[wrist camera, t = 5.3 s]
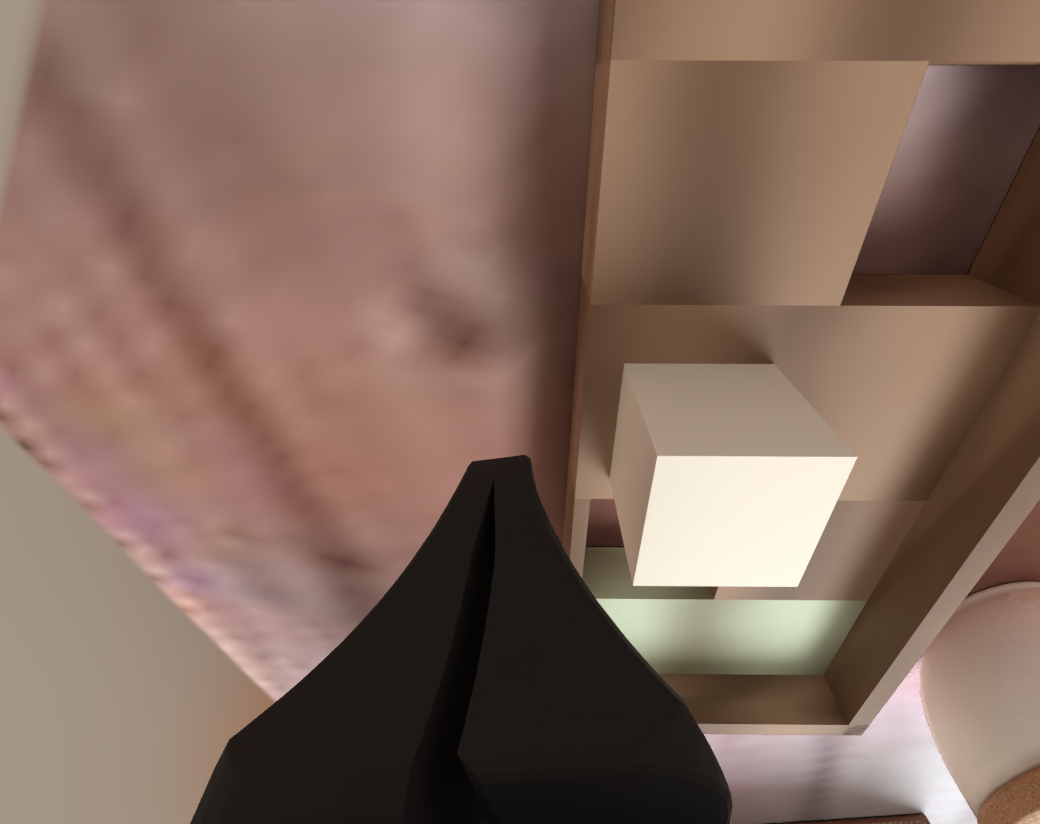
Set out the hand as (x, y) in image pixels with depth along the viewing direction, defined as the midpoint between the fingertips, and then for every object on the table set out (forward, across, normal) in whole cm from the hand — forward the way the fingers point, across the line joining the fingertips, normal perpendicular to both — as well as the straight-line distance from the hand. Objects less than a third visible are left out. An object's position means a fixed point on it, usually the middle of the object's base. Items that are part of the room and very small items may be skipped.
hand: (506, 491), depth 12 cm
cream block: (+3, -5, +1) cm, 6 cm away
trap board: (+6, -8, +4) cm, 10 cm away
